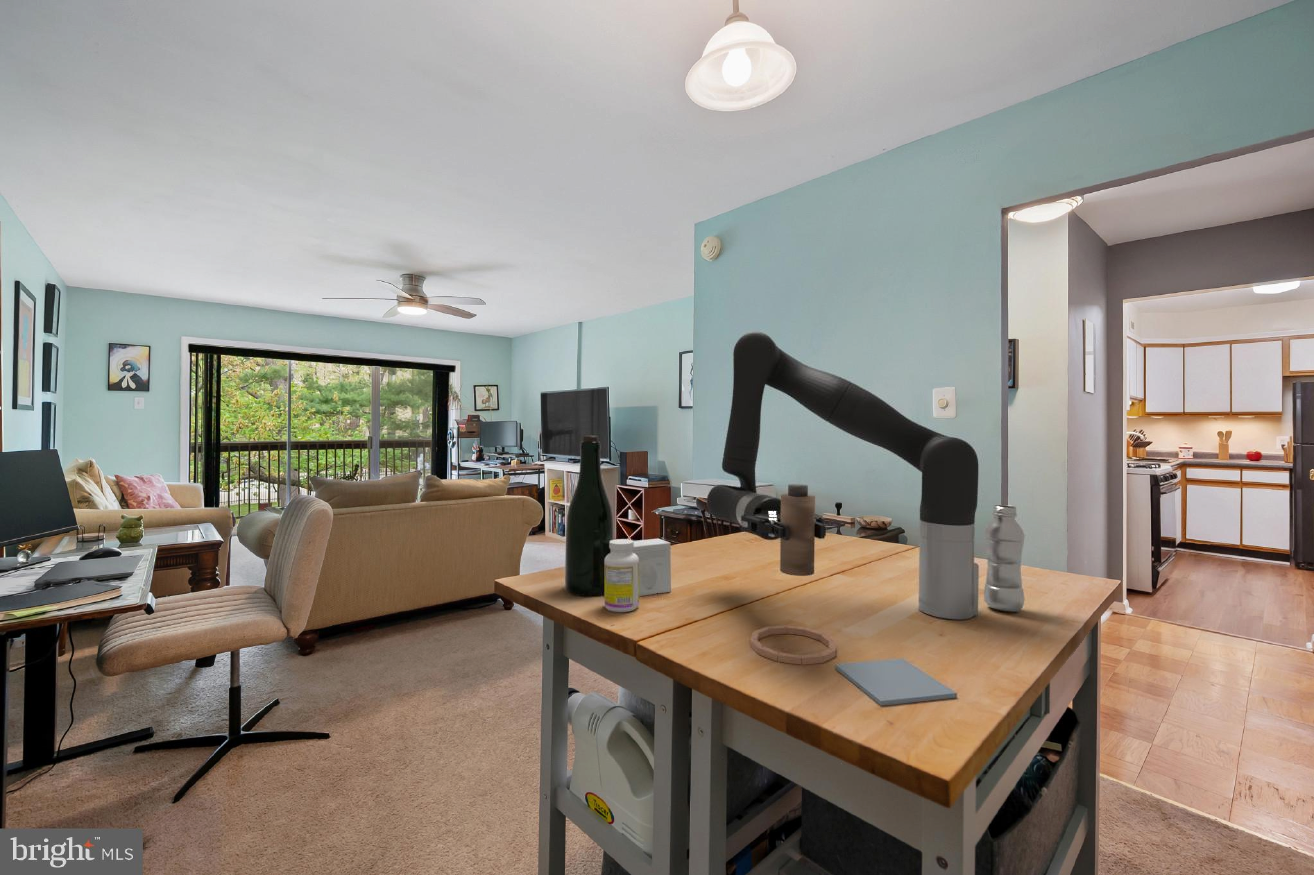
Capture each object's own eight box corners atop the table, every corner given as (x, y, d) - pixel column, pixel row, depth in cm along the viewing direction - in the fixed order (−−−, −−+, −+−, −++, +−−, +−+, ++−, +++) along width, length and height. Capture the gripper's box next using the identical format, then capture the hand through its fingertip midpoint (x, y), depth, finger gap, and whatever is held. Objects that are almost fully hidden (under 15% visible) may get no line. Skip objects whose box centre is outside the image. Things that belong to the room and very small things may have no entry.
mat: (902, 662, 82) (902, 658, 82) (957, 697, 71) (957, 692, 71) (834, 668, 80) (834, 664, 80) (880, 705, 69) (880, 700, 69)
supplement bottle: (619, 600, 111) (619, 536, 110) (645, 606, 107) (646, 540, 107) (596, 608, 105) (597, 541, 105) (623, 615, 101) (624, 546, 101)
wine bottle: (593, 600, 111) (594, 435, 110) (554, 591, 116) (555, 435, 116) (624, 587, 119) (624, 435, 119) (586, 580, 125) (587, 434, 124)
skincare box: (658, 584, 122) (658, 537, 122) (671, 592, 116) (672, 542, 116) (614, 590, 118) (614, 541, 118) (625, 598, 112) (626, 547, 112)
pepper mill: (804, 566, 90) (805, 483, 90) (820, 574, 85) (821, 486, 84) (774, 567, 89) (775, 483, 88) (788, 576, 84) (789, 487, 83)
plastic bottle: (1025, 617, 101) (1026, 509, 101) (982, 611, 105) (984, 506, 105) (1023, 608, 107) (1025, 505, 107) (983, 602, 111) (984, 503, 110)
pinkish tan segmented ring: (810, 629, 95) (810, 623, 95) (852, 660, 82) (852, 653, 82) (739, 634, 92) (739, 628, 92) (771, 667, 80) (771, 660, 80)
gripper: (725, 495, 99) (761, 509, 83) (798, 493, 102) (848, 507, 85) (724, 536, 99) (761, 559, 83) (798, 534, 102) (848, 555, 86)
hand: (805, 532), depth 84 cm, fingers closed on pepper mill, 5 cm apart
